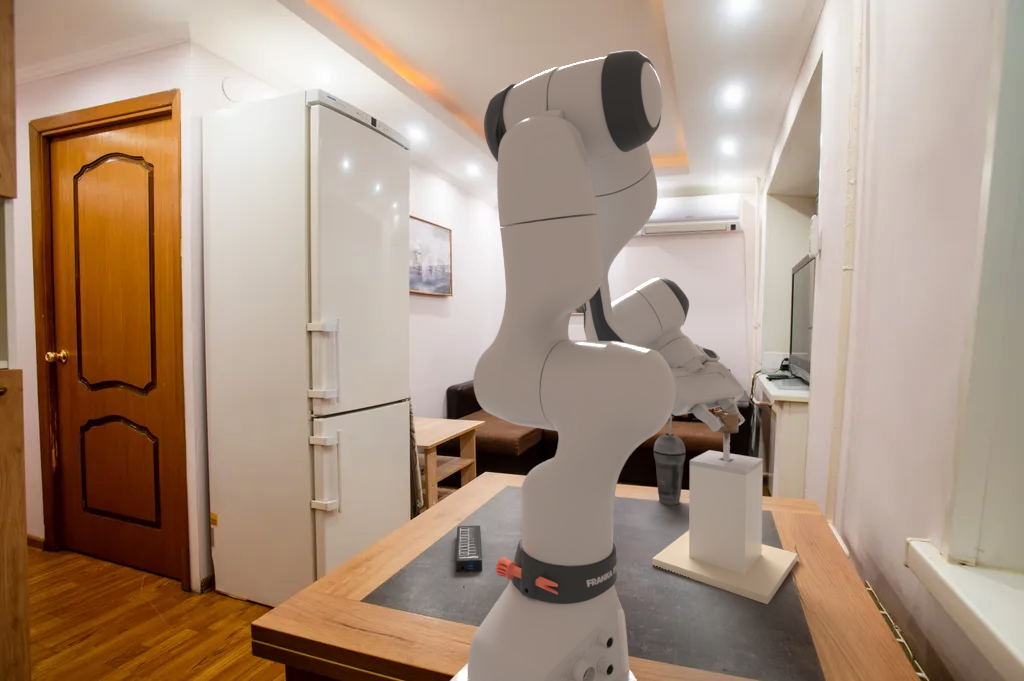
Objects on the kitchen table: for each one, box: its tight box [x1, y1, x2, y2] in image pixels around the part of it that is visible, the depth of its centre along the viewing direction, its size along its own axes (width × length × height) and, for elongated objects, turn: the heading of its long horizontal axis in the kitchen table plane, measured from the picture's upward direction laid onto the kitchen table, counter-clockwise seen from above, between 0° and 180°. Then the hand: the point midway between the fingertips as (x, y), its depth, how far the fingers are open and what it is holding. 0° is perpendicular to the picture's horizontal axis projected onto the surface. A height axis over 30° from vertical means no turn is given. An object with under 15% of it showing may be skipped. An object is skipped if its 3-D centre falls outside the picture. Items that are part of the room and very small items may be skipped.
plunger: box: [714, 410, 739, 462], centre depth 85 cm, size 7×7×18 cm
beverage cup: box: [652, 415, 687, 506], centre depth 115 cm, size 7×7×20 cm
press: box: [651, 449, 799, 605], centre depth 85 cm, size 18×18×18 cm
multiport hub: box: [455, 525, 483, 573], centre depth 90 cm, size 4×14×2 cm, turn 5°
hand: (730, 426), depth 84 cm, fingers open, 5 cm apart
